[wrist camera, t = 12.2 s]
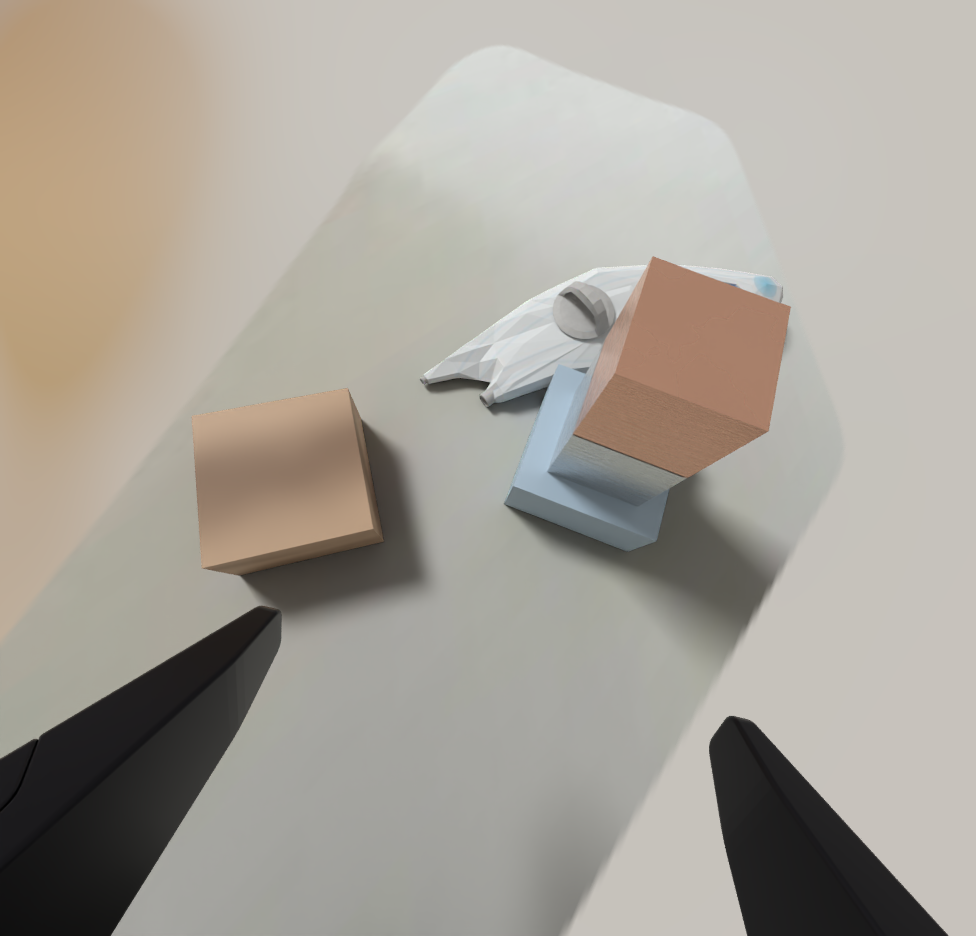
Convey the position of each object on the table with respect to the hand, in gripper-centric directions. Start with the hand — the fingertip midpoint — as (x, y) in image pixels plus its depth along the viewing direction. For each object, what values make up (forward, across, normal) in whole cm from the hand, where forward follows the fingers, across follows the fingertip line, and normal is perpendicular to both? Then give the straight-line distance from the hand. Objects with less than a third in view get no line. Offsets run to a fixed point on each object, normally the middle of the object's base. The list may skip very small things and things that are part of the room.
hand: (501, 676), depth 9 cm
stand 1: (+13, +10, +6) cm, 18 cm away
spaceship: (+23, -5, -3) cm, 24 cm away
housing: (+14, -4, 0) cm, 15 cm away
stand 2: (+17, -4, +2) cm, 17 cm away
